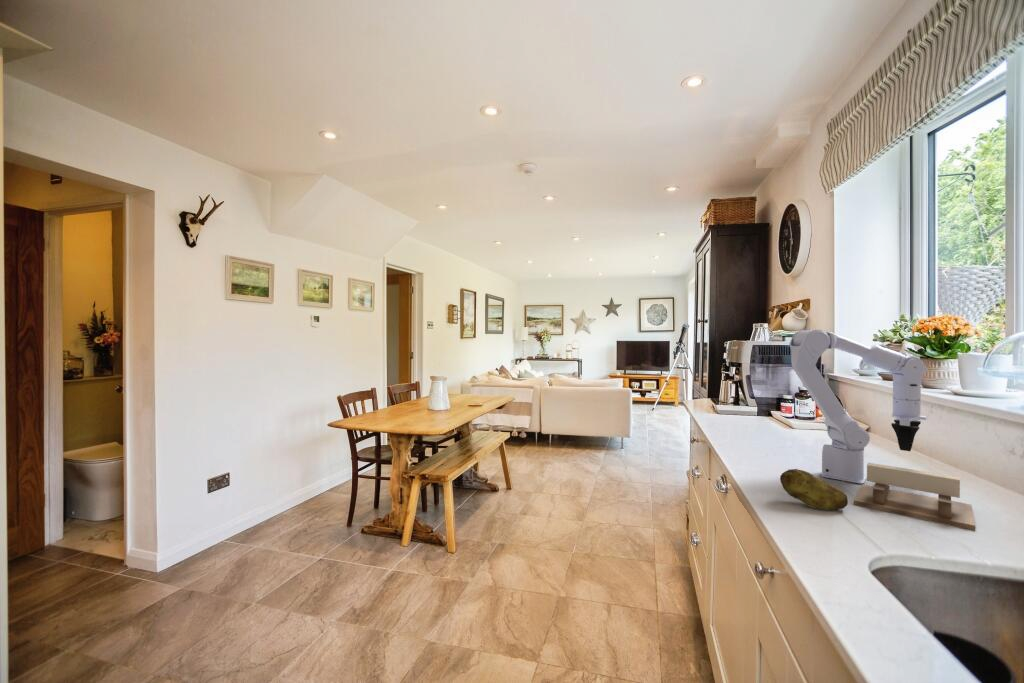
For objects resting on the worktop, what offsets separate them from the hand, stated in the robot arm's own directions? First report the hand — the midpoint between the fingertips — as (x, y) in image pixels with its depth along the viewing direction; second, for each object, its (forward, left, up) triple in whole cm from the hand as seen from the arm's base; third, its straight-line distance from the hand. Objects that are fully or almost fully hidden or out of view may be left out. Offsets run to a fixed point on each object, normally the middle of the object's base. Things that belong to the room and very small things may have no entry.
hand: (906, 447), depth 120 cm
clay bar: (+2, -23, -5) cm, 24 cm away
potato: (-15, -39, -10) cm, 43 cm away
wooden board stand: (+2, -23, -9) cm, 25 cm away
